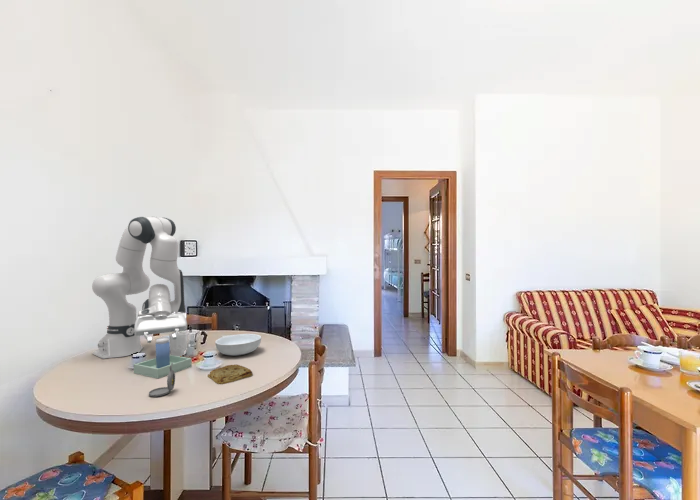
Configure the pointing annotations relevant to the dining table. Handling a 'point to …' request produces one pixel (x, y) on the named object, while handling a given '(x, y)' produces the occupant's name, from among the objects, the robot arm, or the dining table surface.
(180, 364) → the tray
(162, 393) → the pocket watch
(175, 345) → the white cup
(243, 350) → the serving bowl
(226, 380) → the pastry
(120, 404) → the dining table surface
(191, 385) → the dining table surface
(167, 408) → the dining table surface
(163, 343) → the shaker
